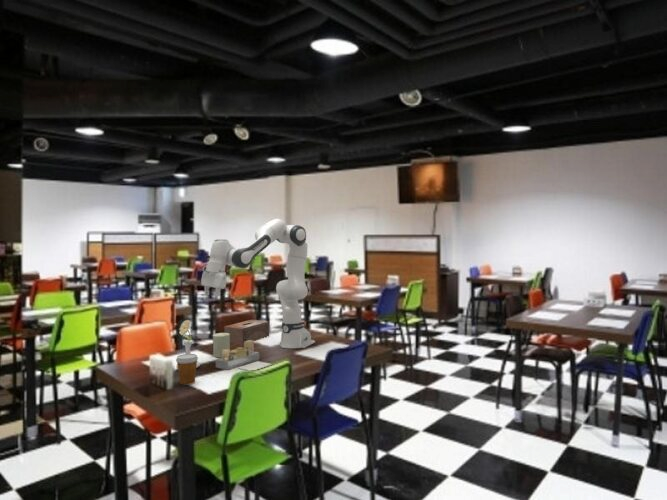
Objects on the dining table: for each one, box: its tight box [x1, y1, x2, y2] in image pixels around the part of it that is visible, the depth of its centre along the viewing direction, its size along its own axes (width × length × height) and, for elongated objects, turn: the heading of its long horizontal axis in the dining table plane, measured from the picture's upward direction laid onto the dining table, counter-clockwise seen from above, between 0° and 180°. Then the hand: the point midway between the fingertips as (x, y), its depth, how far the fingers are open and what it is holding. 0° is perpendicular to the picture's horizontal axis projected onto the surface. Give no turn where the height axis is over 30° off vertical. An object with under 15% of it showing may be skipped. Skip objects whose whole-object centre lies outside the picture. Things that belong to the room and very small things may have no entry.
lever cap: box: [230, 346, 247, 358], centre depth 240 cm, size 8×5×4 cm, turn 146°
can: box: [212, 332, 231, 358], centre depth 257 cm, size 9×9×12 cm
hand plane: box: [215, 340, 260, 371], centre depth 240 cm, size 22×9×10 cm, turn 146°
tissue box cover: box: [223, 319, 270, 346], centre depth 296 cm, size 26×14×10 cm, turn 149°
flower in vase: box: [176, 319, 201, 369], centre depth 231 cm, size 13×11×25 cm
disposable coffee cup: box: [175, 353, 199, 386], centre depth 210 cm, size 10×10×12 cm
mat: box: [237, 360, 273, 372], centre depth 233 cm, size 14×10×1 cm
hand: (211, 296), depth 240 cm, fingers open, 8 cm apart
